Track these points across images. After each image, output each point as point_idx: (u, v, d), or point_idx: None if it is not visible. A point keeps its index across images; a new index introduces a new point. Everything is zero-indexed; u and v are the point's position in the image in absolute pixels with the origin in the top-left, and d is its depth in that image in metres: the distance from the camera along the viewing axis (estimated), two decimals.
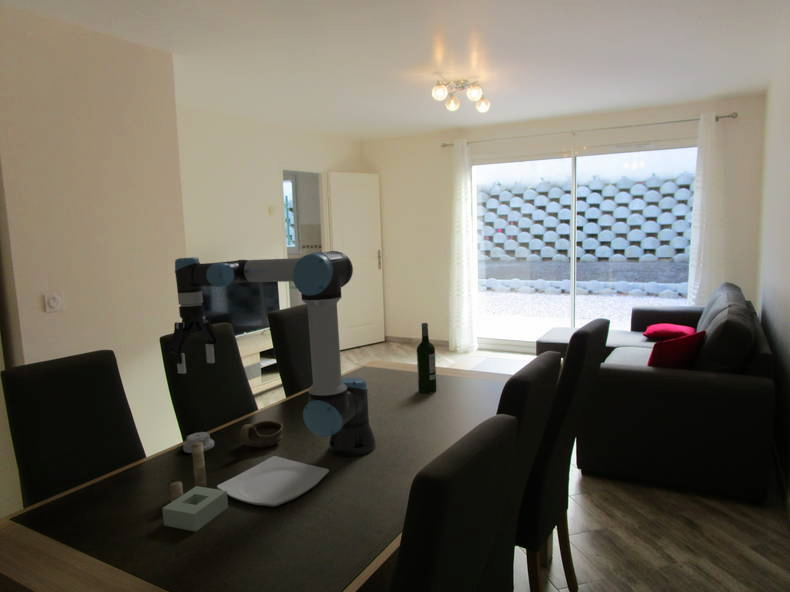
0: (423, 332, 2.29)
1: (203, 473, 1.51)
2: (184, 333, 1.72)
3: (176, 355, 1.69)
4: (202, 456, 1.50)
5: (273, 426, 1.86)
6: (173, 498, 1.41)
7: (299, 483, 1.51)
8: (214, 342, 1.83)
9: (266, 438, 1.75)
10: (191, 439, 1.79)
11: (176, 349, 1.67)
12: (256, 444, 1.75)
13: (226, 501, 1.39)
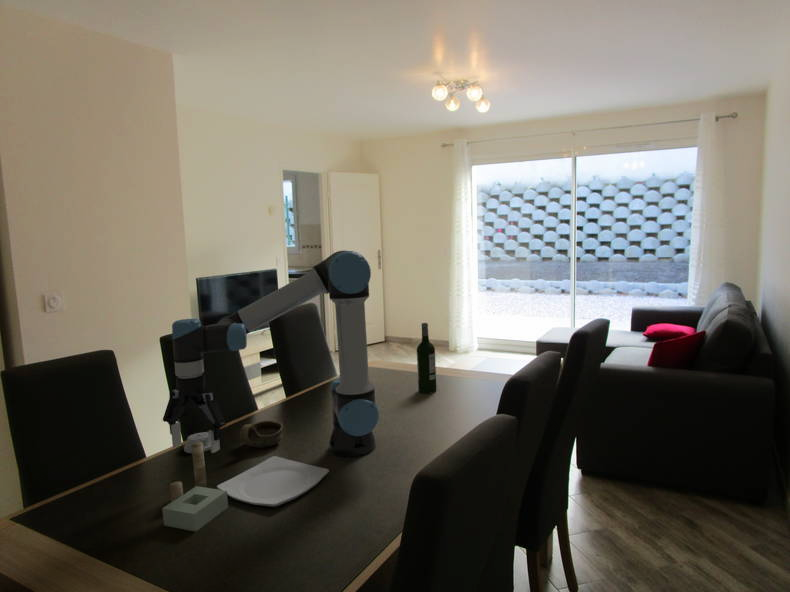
0: (423, 332, 2.29)
1: (203, 473, 1.51)
2: None
3: None
4: (202, 456, 1.50)
5: (273, 426, 1.86)
6: (173, 498, 1.41)
7: (299, 483, 1.51)
8: (212, 428, 1.45)
9: (266, 438, 1.75)
10: (192, 439, 1.79)
11: (164, 417, 1.52)
12: (256, 444, 1.75)
13: (226, 501, 1.39)
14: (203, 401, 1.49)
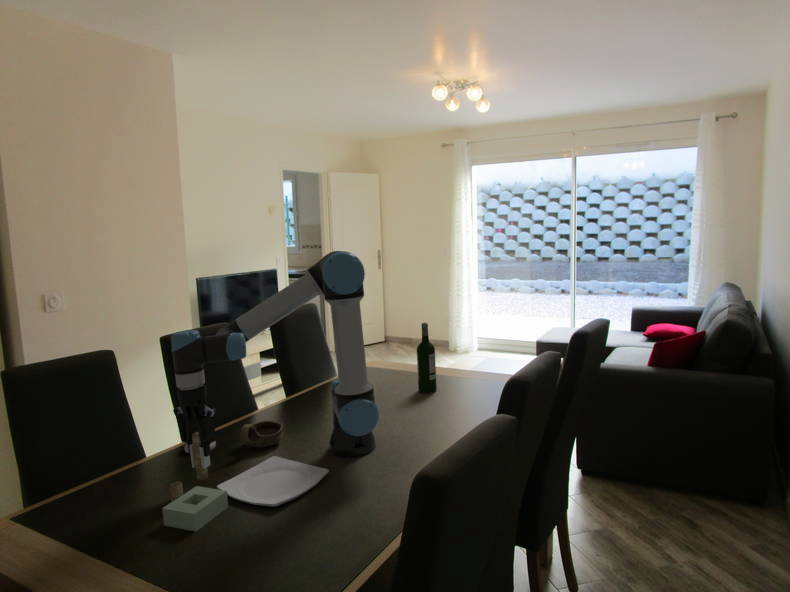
0: (423, 332, 2.29)
1: None
2: None
3: None
4: None
5: (273, 426, 1.86)
6: (173, 498, 1.41)
7: (299, 483, 1.51)
8: (201, 445, 1.48)
9: (266, 438, 1.75)
10: None
11: (181, 438, 1.51)
12: (256, 444, 1.75)
13: (226, 501, 1.39)
14: None
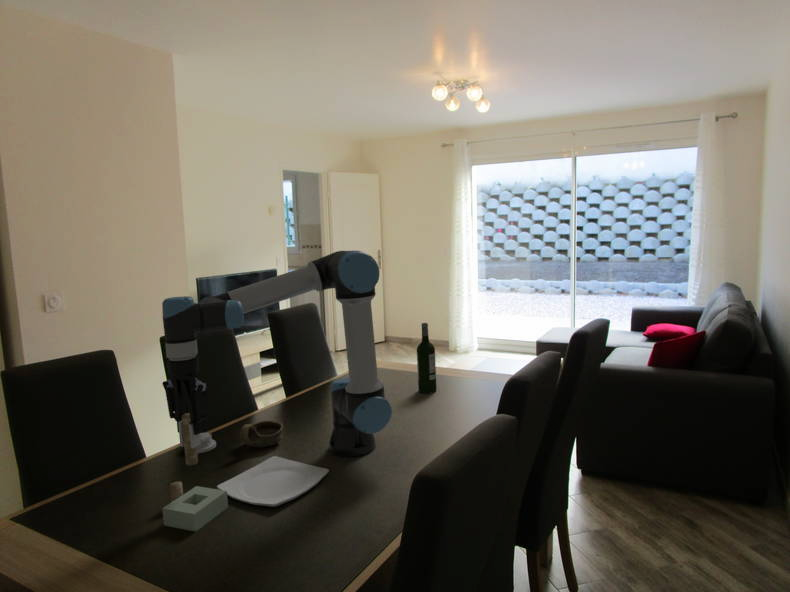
0: (423, 332, 2.29)
1: None
2: None
3: None
4: None
5: (273, 426, 1.86)
6: (173, 498, 1.41)
7: (299, 483, 1.51)
8: (191, 422, 1.36)
9: (266, 438, 1.75)
10: None
11: (170, 414, 1.39)
12: (256, 444, 1.75)
13: (226, 501, 1.39)
14: (194, 388, 1.38)
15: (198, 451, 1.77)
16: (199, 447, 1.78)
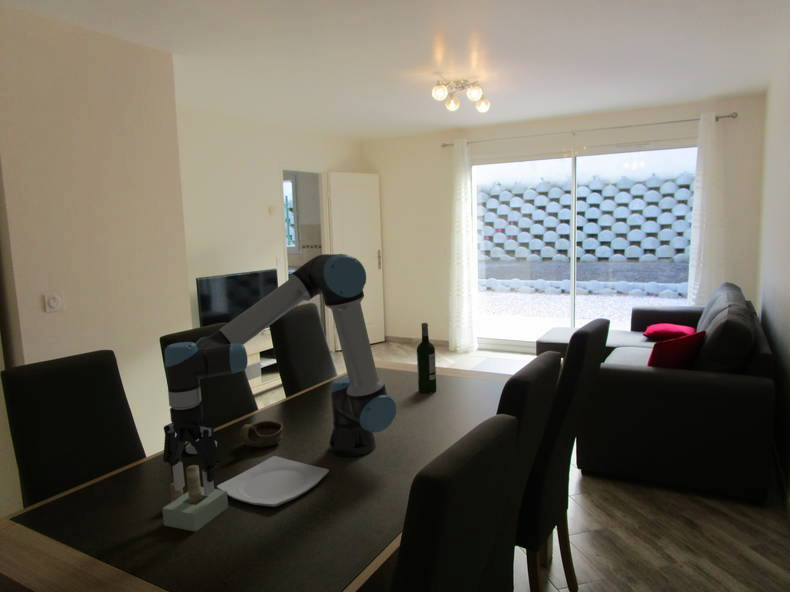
0: (423, 332, 2.29)
1: (199, 500, 1.35)
2: None
3: None
4: (198, 481, 1.35)
5: (273, 426, 1.86)
6: (173, 498, 1.41)
7: (299, 483, 1.51)
8: (204, 469, 1.31)
9: (266, 438, 1.75)
10: None
11: (164, 457, 1.36)
12: (256, 444, 1.75)
13: (226, 501, 1.39)
14: (200, 435, 1.34)
15: None
16: None
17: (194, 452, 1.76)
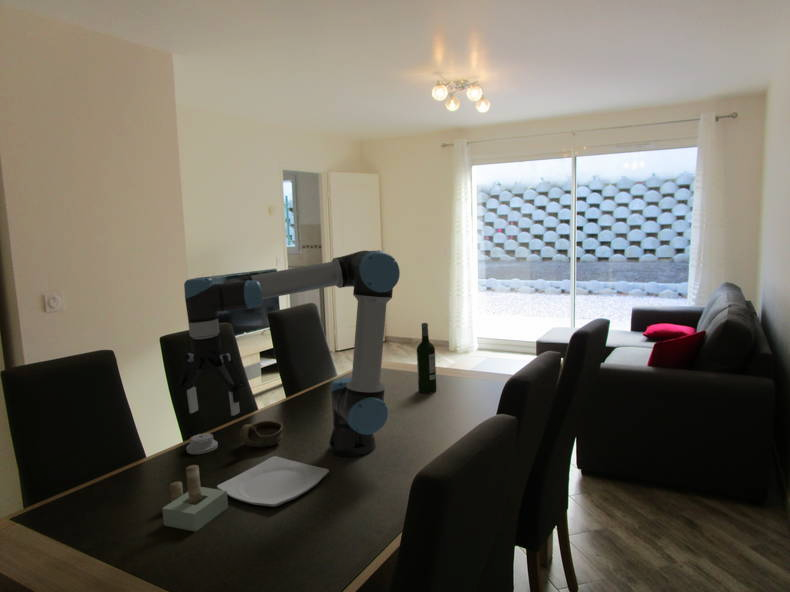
0: (423, 332, 2.29)
1: (199, 500, 1.35)
2: None
3: None
4: (198, 481, 1.35)
5: (273, 426, 1.86)
6: (173, 498, 1.41)
7: (299, 483, 1.51)
8: (231, 390, 1.39)
9: (266, 438, 1.75)
10: (194, 440, 1.78)
11: (179, 383, 1.45)
12: (256, 444, 1.75)
13: (226, 501, 1.39)
14: (220, 363, 1.43)
15: (200, 452, 1.76)
16: (201, 448, 1.77)
17: (195, 452, 1.76)
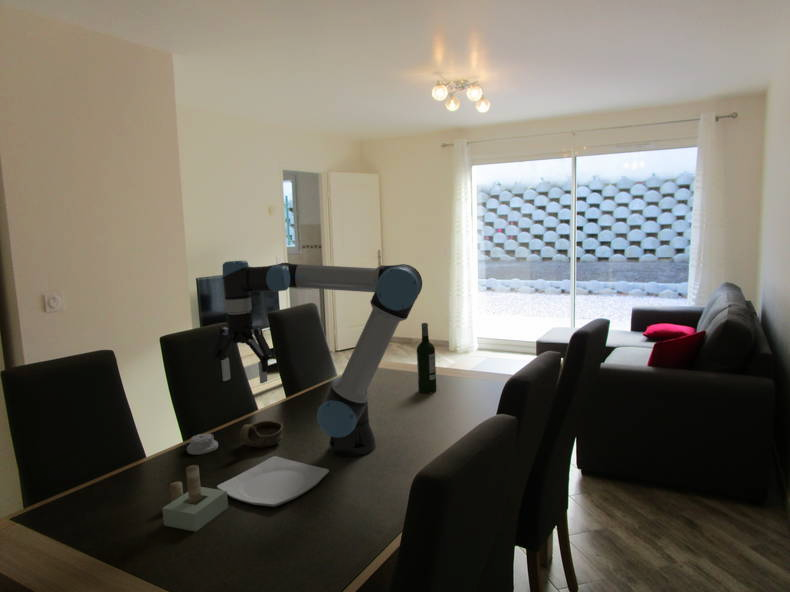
0: (423, 332, 2.29)
1: (199, 500, 1.35)
2: None
3: None
4: (198, 481, 1.35)
5: (273, 426, 1.86)
6: (173, 498, 1.41)
7: (299, 483, 1.51)
8: (261, 360, 1.58)
9: (266, 438, 1.75)
10: (195, 440, 1.77)
11: (214, 353, 1.64)
12: (256, 444, 1.75)
13: (226, 501, 1.39)
14: (251, 337, 1.61)
15: (200, 452, 1.76)
16: (201, 448, 1.77)
17: (195, 452, 1.76)
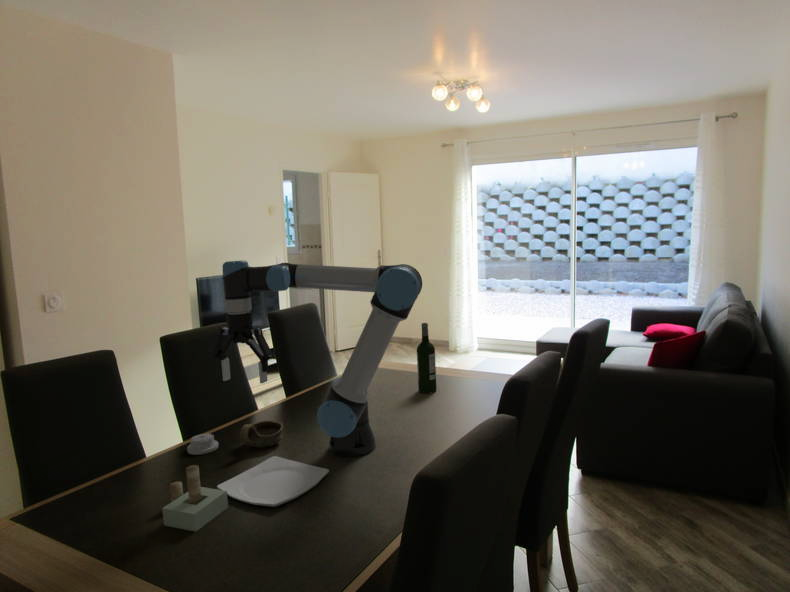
0: (423, 332, 2.29)
1: (199, 500, 1.35)
2: None
3: None
4: (198, 481, 1.35)
5: (273, 426, 1.86)
6: (173, 498, 1.41)
7: (299, 483, 1.51)
8: (261, 360, 1.58)
9: (266, 438, 1.75)
10: (195, 440, 1.77)
11: (215, 353, 1.64)
12: (256, 444, 1.75)
13: (226, 501, 1.39)
14: (251, 337, 1.61)
15: (200, 452, 1.76)
16: (201, 448, 1.77)
17: (196, 453, 1.76)
